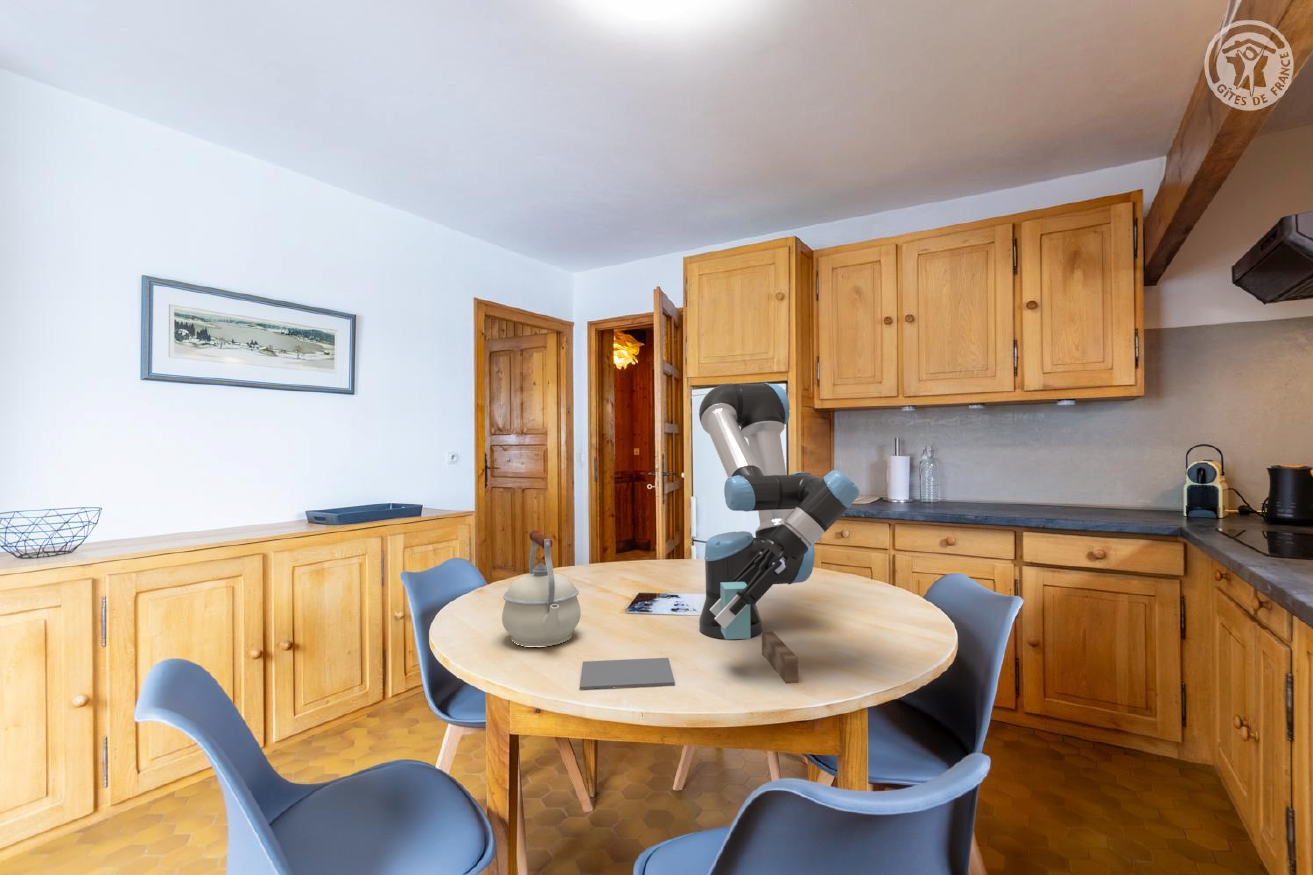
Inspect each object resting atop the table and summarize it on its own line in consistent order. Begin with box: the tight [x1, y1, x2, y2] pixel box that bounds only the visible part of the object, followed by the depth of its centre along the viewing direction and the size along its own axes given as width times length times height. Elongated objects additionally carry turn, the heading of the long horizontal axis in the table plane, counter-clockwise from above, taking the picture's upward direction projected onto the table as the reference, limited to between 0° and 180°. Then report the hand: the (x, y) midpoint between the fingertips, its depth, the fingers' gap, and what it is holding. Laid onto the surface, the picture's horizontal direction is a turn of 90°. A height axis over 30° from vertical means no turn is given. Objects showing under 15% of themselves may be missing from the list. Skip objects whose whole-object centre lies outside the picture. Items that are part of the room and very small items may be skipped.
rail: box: [761, 630, 799, 684], centre depth 122 cm, size 16×2×5 cm, turn 6°
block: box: [720, 582, 752, 640], centre depth 121 cm, size 5×5×10 cm
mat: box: [579, 657, 676, 690], centre depth 119 cm, size 13×18×1 cm
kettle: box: [501, 530, 581, 647], centre depth 141 cm, size 25×18×25 cm
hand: (717, 618), depth 120 cm, fingers closed on block, 5 cm apart
